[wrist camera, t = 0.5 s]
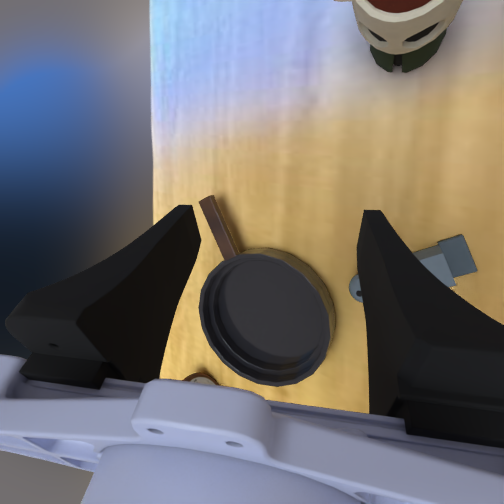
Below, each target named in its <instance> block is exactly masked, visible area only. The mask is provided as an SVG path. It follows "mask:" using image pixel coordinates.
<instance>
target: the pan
mask: <svg viewBox="0 0 504 504" xmlns="http://www.w3.org/2000/svg"><path fill="white" fill-rule="evenodd" d="M199 314H200V320H201V326H202V329H203V332H204V334H205V336H206V338H207V341H208V343H209V345H210V347H211V348H212V349H213V351H214V352H215V353H216V354H217V356H218V357H219V358H220V360H221V361H222V362H223V363H224V364H225V365H227V366H228V367H229V368H230V369H232V370H233V371H234V372H235V373H237V374H238V375H239V376H241V377H244V378H246V379H248V380H250V381H252V382H255V383H257V384H262V385H269V386H275V387H279V386H285V385H291V384H296V383H298V382H300V381H302V380H304V379H305V378H307V377H309V376H311V375H312V374H314V372H315V371H316V370H317V368H318V367H319V366H320V365H321V363H322V362H323V361H324V359H325V357H326V355H327V352H328V350H329V347H330V345H331V341H332V337H333V334H334V330H335V315H334V305H333V302H332V300H331V298H330V295H329V293H328V291H327V288H326V286H325V284H324V283H323V282H322V280H321V279H320V278H319V277H318V276H317V275H316V273H315V272H314V271H313V270H312V269H311V268H310V267H309V266H308V265H307V264H305V263H304V262H302V261H301V260H299V259H297V258H296V257H294V256H293V255H291V254H289V253H286V252H282V251H279V250H275V249H271V248H258V249H248V250H246V251H243V252H241V253H239V254H238V255H236V256H235V257H233V258H231V259H229V260H226V261H225V260H224V261H222V262H221V263H220V264H219V265H218V266H217V267H216V268H215V269H213V270H212V271H211V272H210V273H209V275H208V277H207V279H206V281H205V283H204V285H203V287H202V289H201V293H200V302H199Z"/></svg>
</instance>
